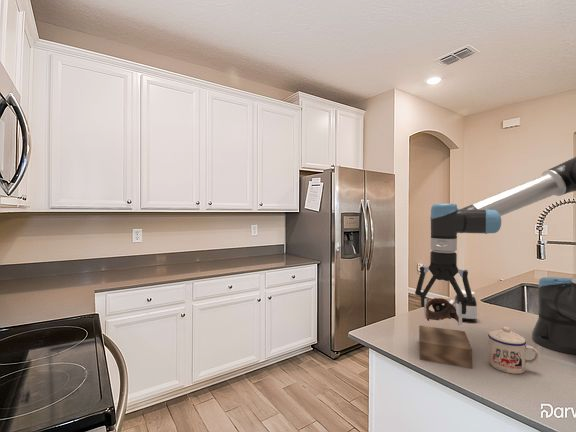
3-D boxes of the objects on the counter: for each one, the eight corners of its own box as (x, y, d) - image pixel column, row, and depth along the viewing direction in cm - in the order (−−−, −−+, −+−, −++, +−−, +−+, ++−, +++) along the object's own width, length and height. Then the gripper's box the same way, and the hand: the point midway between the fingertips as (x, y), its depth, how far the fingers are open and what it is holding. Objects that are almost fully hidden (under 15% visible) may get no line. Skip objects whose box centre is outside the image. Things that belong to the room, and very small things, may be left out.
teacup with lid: (488, 369, 86) (489, 329, 86) (486, 356, 94) (487, 319, 94) (542, 381, 80) (542, 338, 80) (535, 366, 88) (535, 327, 87)
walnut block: (464, 348, 100) (464, 331, 99) (472, 369, 87) (472, 349, 87) (419, 342, 105) (419, 325, 105) (419, 360, 92) (419, 341, 92)
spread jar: (479, 324, 120) (479, 295, 120) (448, 321, 124) (448, 293, 124) (470, 314, 132) (471, 288, 132) (442, 311, 135) (442, 286, 135)
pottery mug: (468, 328, 91) (459, 307, 89) (438, 339, 92) (428, 319, 90) (448, 306, 102) (440, 287, 100) (422, 316, 104) (414, 298, 102)
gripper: (405, 249, 99) (404, 316, 99) (483, 255, 86) (482, 332, 86) (410, 247, 105) (410, 310, 105) (484, 252, 92) (483, 324, 92)
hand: (442, 320), depth 96 cm, fingers closed on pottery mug, 9 cm apart
